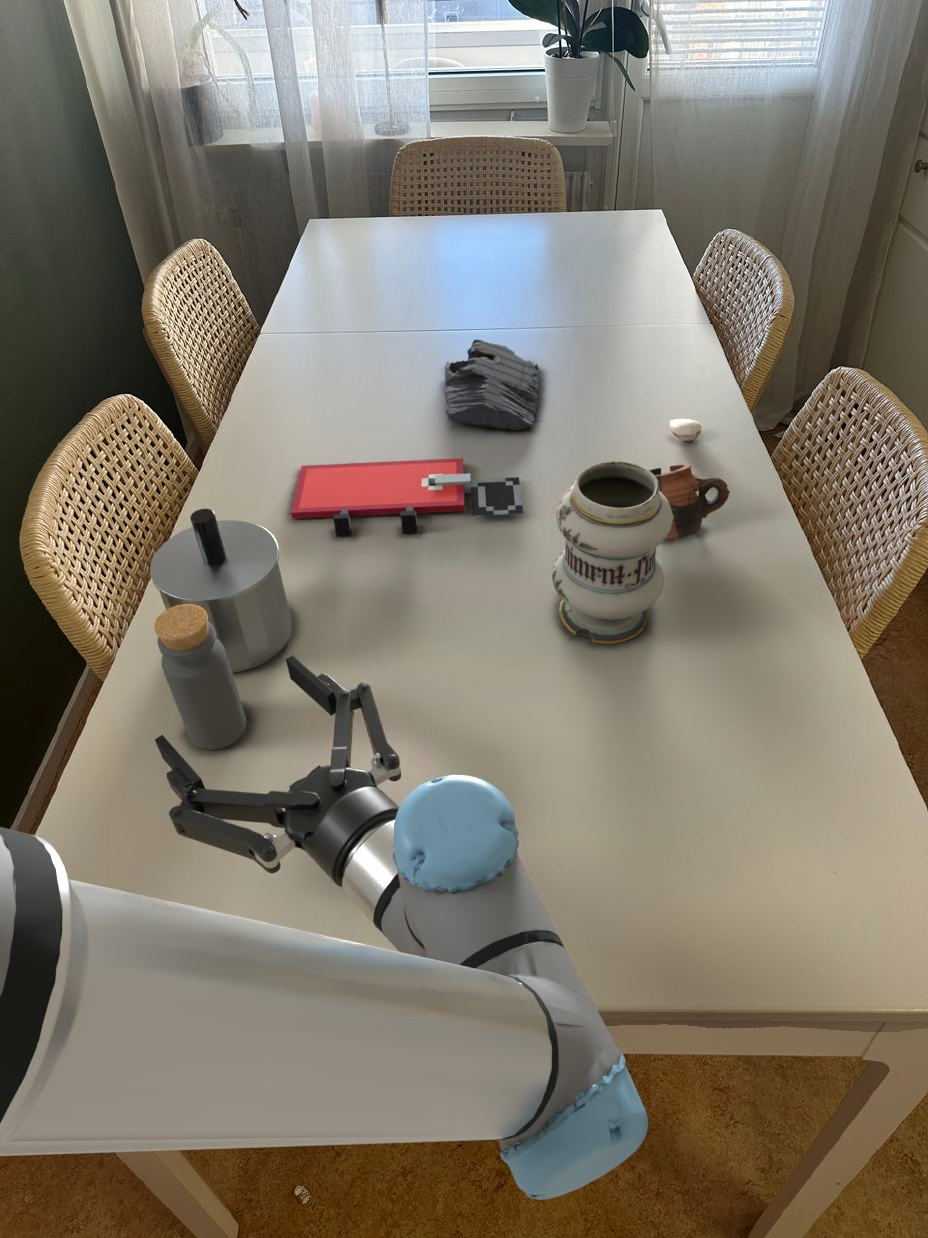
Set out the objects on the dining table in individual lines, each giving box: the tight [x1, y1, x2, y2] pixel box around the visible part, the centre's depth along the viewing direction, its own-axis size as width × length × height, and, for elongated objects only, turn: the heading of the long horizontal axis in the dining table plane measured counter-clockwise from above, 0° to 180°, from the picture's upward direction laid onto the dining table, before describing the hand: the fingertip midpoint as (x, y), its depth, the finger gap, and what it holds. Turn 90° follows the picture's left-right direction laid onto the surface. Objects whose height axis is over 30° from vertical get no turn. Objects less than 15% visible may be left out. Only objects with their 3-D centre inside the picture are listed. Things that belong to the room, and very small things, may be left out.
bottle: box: [153, 604, 247, 751], centre depth 83 cm, size 6×6×15 cm
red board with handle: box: [290, 457, 524, 538], centre depth 115 cm, size 30×3×15 cm
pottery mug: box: [648, 463, 731, 541], centre depth 110 cm, size 12×10×8 cm
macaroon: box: [669, 418, 702, 442], centre depth 124 cm, size 4×5×2 cm
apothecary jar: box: [551, 460, 673, 645], centre depth 92 cm, size 12×12×18 cm
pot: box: [159, 562, 293, 674], centre depth 94 cm, size 12×12×10 cm
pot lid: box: [149, 508, 280, 604], centre depth 89 cm, size 13×13×7 cm
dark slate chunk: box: [444, 338, 540, 431], centre depth 133 cm, size 15×22×5 cm
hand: (229, 705), depth 79 cm, fingers open, 13 cm apart
